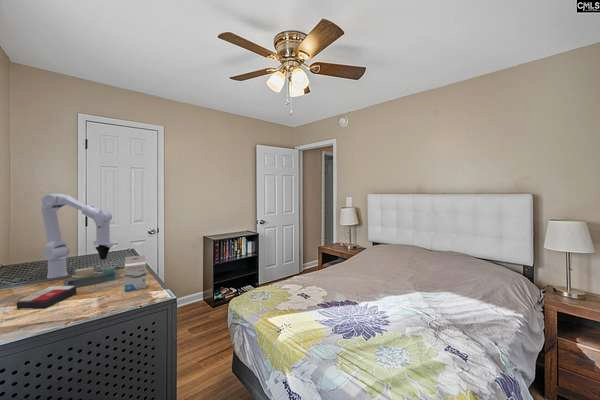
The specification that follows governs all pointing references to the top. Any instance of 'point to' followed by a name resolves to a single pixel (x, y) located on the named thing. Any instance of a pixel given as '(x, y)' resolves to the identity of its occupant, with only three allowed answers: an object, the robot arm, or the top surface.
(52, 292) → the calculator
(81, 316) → the top surface
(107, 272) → the sliding jaw
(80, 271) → the birch block
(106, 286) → the top surface
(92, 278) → the vise base
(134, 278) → the ink box
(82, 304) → the top surface
